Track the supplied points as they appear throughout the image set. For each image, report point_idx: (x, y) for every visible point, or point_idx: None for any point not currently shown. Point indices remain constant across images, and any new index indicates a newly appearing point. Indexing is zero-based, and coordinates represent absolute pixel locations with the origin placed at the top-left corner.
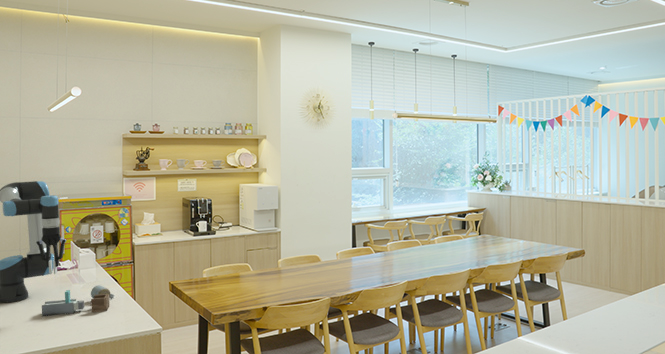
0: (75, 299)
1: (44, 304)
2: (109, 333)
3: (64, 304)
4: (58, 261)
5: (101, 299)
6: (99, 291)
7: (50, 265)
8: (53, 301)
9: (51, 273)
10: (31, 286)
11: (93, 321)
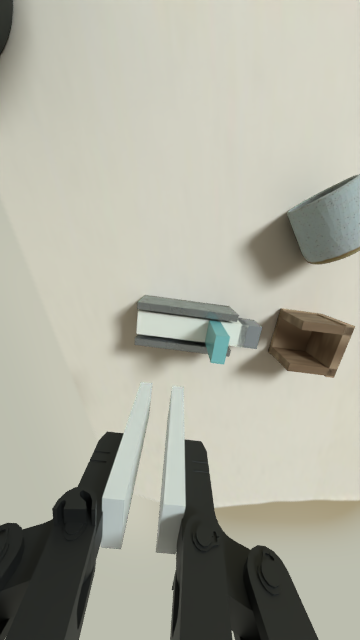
0: (237, 320)
1: (138, 317)
2: (286, 492)
3: (203, 351)
4: (210, 505)
5: (316, 372)
6: (330, 256)
7: (133, 485)
8: (165, 311)
9: (149, 406)
10: None
11: (265, 420)
